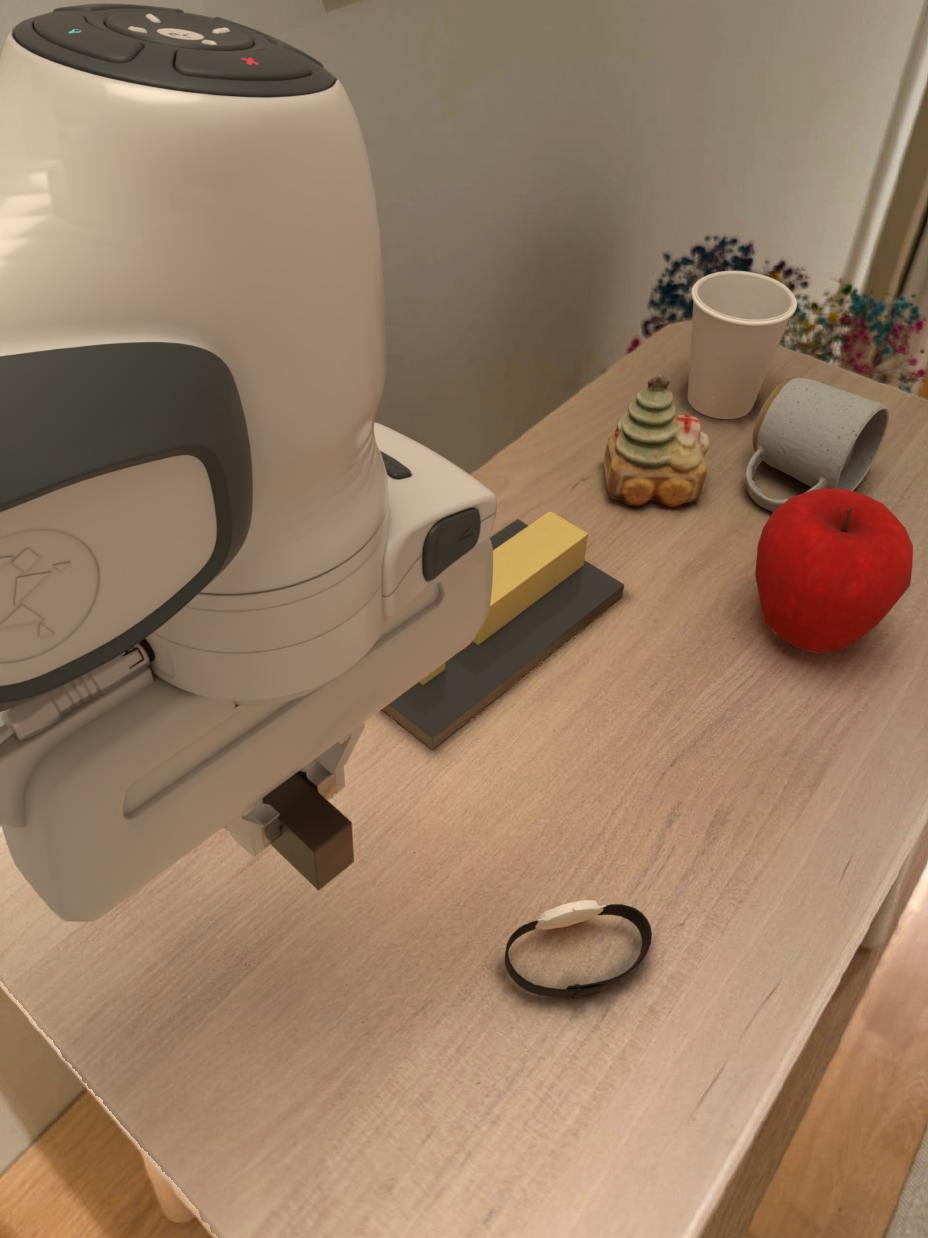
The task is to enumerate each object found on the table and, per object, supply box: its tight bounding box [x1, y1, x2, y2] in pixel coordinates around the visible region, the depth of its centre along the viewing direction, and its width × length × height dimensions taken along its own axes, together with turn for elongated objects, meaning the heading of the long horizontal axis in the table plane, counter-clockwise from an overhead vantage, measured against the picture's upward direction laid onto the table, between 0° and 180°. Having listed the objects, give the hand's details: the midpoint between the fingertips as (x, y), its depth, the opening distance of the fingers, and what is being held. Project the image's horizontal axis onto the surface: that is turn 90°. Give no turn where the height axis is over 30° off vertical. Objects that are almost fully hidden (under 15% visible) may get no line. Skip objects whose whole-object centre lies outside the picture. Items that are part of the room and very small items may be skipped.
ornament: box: [603, 374, 711, 508], centre depth 80 cm, size 8×6×10 cm
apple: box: [754, 489, 914, 654], centre depth 69 cm, size 10×10×11 cm
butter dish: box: [381, 518, 625, 750], centre depth 72 cm, size 19×10×1 cm, turn 136°
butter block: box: [473, 510, 589, 645], centre depth 72 cm, size 11×4×3 cm, turn 136°
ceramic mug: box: [745, 376, 890, 513], centre depth 82 cm, size 11×8×8 cm
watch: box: [504, 899, 653, 999], centre depth 54 cm, size 8×5×4 cm, turn 104°
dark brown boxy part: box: [263, 773, 355, 891], centre depth 46 cm, size 2×12×3 cm, turn 46°
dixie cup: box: [687, 270, 798, 420], centre depth 89 cm, size 8×8×10 cm
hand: (288, 812), depth 44 cm, fingers closed on dark brown boxy part, 2 cm apart
